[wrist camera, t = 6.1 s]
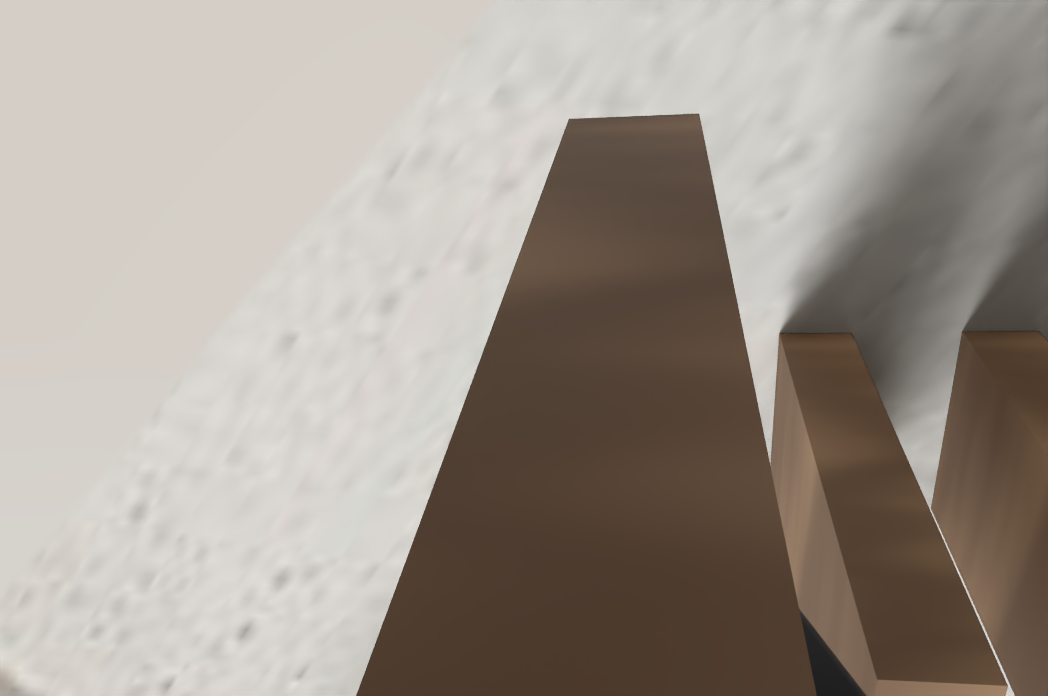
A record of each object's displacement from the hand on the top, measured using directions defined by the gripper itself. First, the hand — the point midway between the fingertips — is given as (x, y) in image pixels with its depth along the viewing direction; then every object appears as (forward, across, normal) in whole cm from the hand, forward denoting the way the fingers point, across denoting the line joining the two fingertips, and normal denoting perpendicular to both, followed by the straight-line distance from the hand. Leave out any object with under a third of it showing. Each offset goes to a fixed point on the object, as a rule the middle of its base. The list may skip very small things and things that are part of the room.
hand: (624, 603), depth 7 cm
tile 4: (+13, -4, +7) cm, 15 cm away
